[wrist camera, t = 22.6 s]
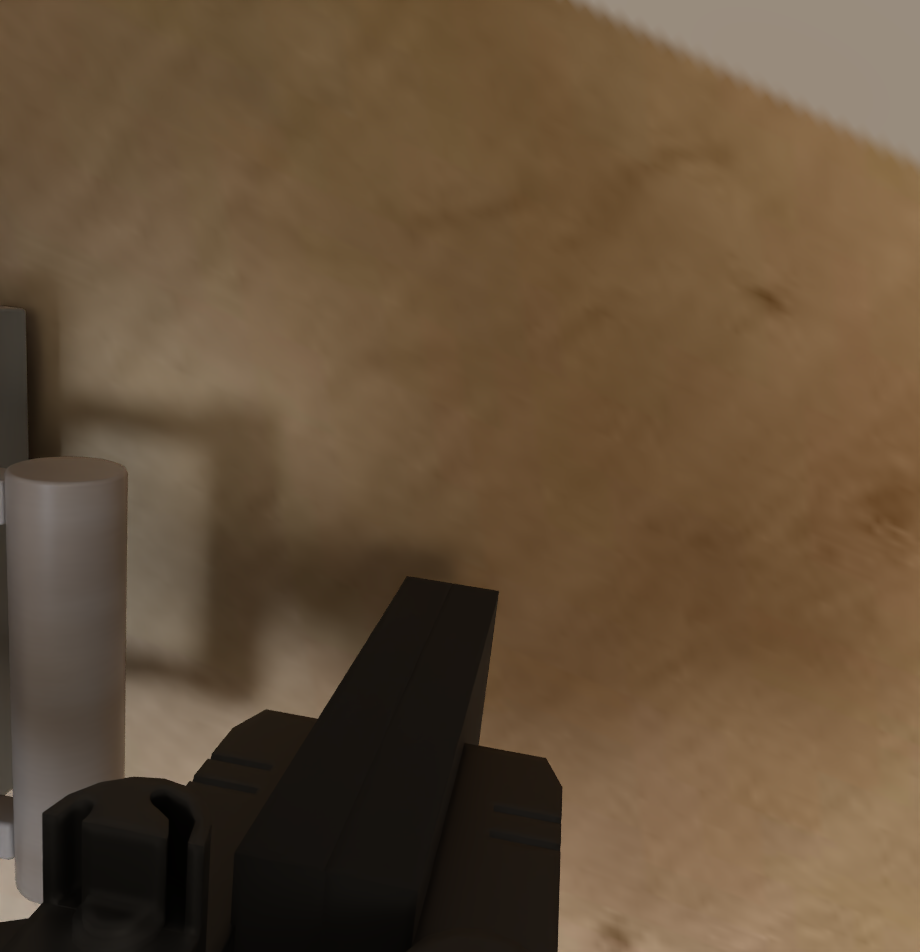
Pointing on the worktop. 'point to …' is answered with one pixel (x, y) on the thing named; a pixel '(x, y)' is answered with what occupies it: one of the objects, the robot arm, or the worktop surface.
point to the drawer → (55, 621)
